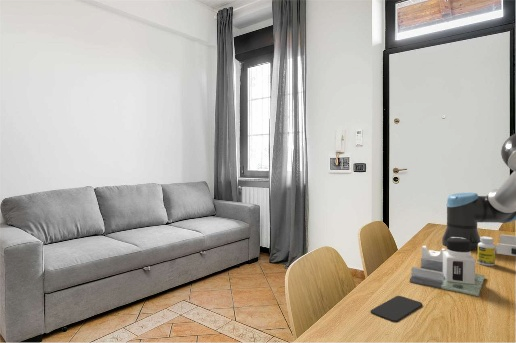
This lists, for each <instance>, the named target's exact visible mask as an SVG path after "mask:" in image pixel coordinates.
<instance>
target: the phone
mask: <svg viewBox="0 0 516 343" xmlns="http://www.w3.org/2000/svg"><path fill="white" fill-rule="evenodd" d="M422 307H423V303H422V302H420V301H418V300H415V299H412V298H408V297H405V296H402V295H396V296H394V297H392V298H389V300H387V301H385V302H384V303H382V304H381V303H380V304H379V305H378V306H376V307H373V308H372V309H371V310H370V314H372V315H373V316H374V315H375V316H377V317H380V318H382V319H385V320H387V321H390V322H393V323H399V321H401V320H403V319H405V318H406V317H408V316H409V315H411V314H412V313H414V312H416V311H417V310H419V309H420V308H422Z"/></svg>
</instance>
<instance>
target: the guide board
mask: <svg viewBox="0 0 516 343" xmlns="http://www.w3.org/2000/svg"><path fill="white" fill-rule="evenodd" d="M410 270H411V273H410V274H411V275H410V278H409V282H410V283H413V284H418V285H423V286H427V287H433V288H437V289H442V290H447V291H451V292H456V293H462V294H466V295H470V296H476V297H479V296H480V293H481V291H482V287H483V284H484V281H485V277H486V276H485V274H480V273H475V284H467V283H457V282H448V281H446V279H445V277H444V272H443V261H440V260H434V259H427V258H422V257H421V258H420V267H416V266H411V269H410Z"/></svg>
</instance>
